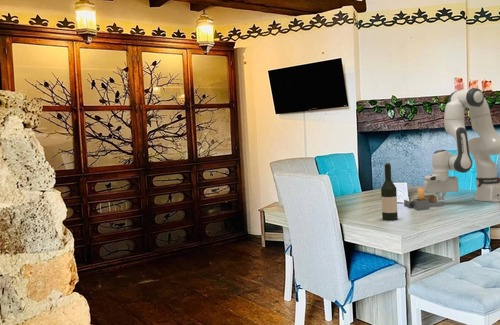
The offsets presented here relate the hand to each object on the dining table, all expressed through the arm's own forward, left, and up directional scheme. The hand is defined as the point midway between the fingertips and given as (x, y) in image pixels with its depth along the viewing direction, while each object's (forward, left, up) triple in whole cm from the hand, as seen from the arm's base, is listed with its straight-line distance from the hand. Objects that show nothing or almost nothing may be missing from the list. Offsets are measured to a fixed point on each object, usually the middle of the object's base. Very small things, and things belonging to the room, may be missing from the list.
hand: (441, 199), depth 265 cm
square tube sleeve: (+16, +9, -3) cm, 18 cm away
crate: (+7, -1, -3) cm, 7 cm away
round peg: (+15, +9, 0) cm, 18 cm away
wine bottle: (+41, +32, -4) cm, 52 cm away
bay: (+11, -1, -3) cm, 11 cm away
